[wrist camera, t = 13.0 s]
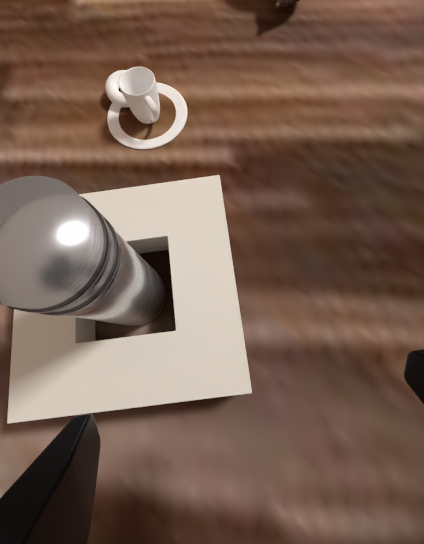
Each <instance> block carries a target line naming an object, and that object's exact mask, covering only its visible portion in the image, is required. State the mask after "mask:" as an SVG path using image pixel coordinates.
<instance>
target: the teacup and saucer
mask: <svg viewBox="0 0 424 544" xmlns="http://www.w3.org/2000/svg"><path fill="white" fill-rule="evenodd" d="M119 87H120V89H121V91H122V93H121V92H119ZM105 89H106V94H107V96H108V98H109V99H110V101H111V102H112V104H111V106H110V108H109V111H108V116H107V122H108V127H109V130H110V132H111V134H112V135H113V137H114V138H115V139H116V140H117V141H118V142H120V143H121V144H123V145H125V146H127V147H130V148H134V149H153V148H157V147H160V146H162V145H165V144H166V143H168V142H170V141H171V140H173V139H174V138H175V137H176V136H177V135H178V134H179V133H180V132H181V130H182V129H183V127H184V125H185V122H186V119H187V106H186V103H185V101H184V99H183V97H182V96H181V94H180V93H179V92H178V91H176V90H175V89H174V88H172V87H170V86H168V85H165V84H162V83H156V81H155V77H154V74H153V73H152V72H151V71H150V70H149V69H147V68H144V67H133V68H130V69H128V70H120V71H116V72H114V73H113V74H111V75H110V76H109V78H108V79H107V81H106V85H105ZM158 93H162V94H164V95H166V96H167V97H169V98H170V99H171V100H172V102H173V103H174V105H175V108H176V119H175V122H174V124H173V125H172V127H171V128H170V129H169V130H168V131H167V132H166V133H165V134H163V135H161V136H159V137H157V138H154V139H149V140H140V139H135V138H132V137H130V136H128V135H127V134H126V133H125V132H124V131H123V130H122V129H121V127H120V124H119V112H120V110H121V108H122V107H129V108H130V109H131V111H132V113H133V114H134V116H135V117H136V118H137V119H138V120H139V121H140V122H142V123H144V124H151V123H153V122H156V121H157V120H158V118H159V113H160V103H159V96H158Z"/></svg>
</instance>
